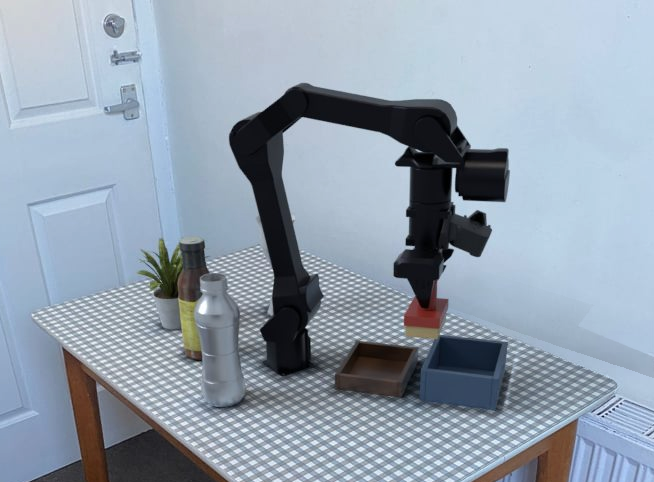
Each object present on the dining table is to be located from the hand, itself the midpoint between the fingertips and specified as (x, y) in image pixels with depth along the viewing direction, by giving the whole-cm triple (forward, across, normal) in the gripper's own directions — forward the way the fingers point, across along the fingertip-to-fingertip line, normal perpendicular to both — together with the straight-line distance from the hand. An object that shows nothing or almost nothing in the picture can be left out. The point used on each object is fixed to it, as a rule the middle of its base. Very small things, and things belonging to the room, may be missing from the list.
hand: (426, 303), depth 116 cm
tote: (+13, 0, -6) cm, 15 cm away
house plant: (+13, +10, +48) cm, 51 cm away
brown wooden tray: (+13, 0, +8) cm, 15 cm away
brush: (+4, 0, 0) cm, 4 cm away
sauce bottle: (+13, +1, +38) cm, 40 cm away
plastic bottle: (+13, -14, +28) cm, 34 cm away
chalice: (+13, +21, +32) cm, 40 cm away
